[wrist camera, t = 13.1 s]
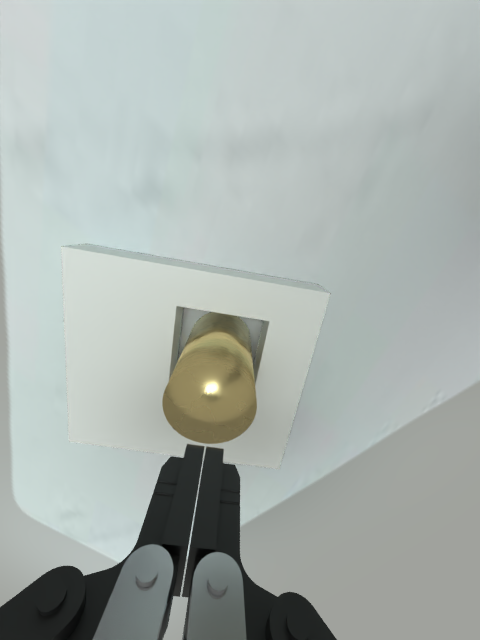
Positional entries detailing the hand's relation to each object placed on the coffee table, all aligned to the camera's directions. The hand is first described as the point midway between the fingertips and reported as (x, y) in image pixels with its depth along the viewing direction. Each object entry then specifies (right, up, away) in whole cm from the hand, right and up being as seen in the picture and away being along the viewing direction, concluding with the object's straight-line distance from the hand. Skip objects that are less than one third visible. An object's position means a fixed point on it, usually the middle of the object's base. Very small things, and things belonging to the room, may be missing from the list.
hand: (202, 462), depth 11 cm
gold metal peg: (0, +4, +12) cm, 13 cm away
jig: (-3, +3, +12) cm, 13 cm away
